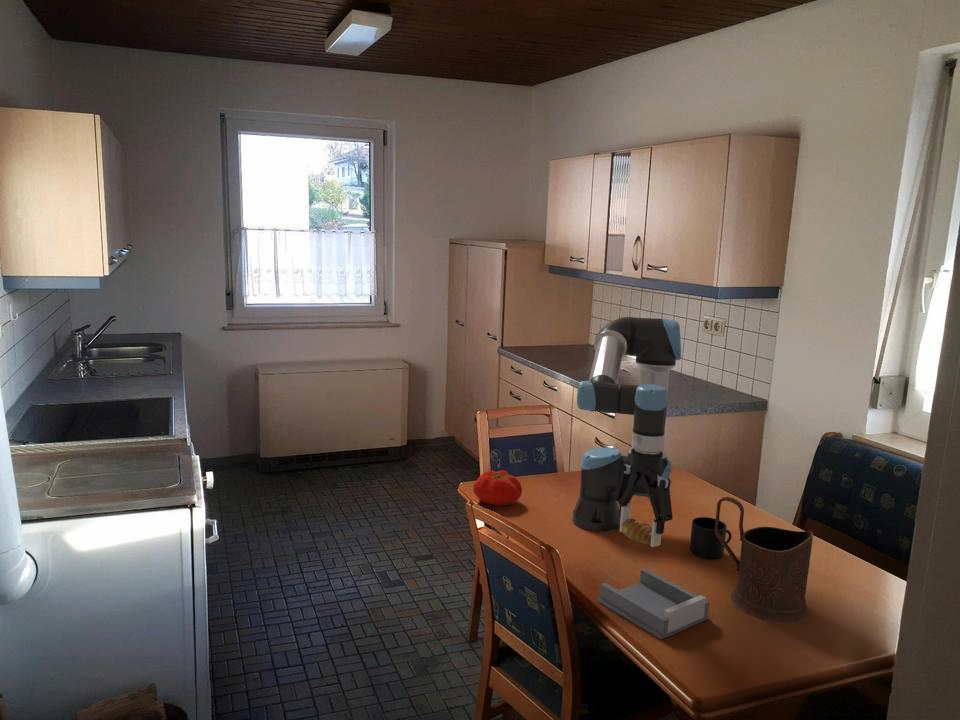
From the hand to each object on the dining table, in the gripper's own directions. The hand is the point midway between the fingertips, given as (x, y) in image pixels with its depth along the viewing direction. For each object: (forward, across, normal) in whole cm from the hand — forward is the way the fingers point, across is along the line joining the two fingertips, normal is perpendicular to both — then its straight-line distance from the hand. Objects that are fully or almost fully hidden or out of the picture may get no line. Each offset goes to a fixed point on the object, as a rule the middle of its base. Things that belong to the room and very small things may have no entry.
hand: (639, 537), depth 181 cm
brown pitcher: (+16, +17, +26) cm, 35 cm away
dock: (+16, +6, 0) cm, 17 cm away
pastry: (+1, -1, +1) cm, 1 cm away
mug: (+16, -7, +39) cm, 43 cm away
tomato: (+16, -69, +9) cm, 71 cm away
